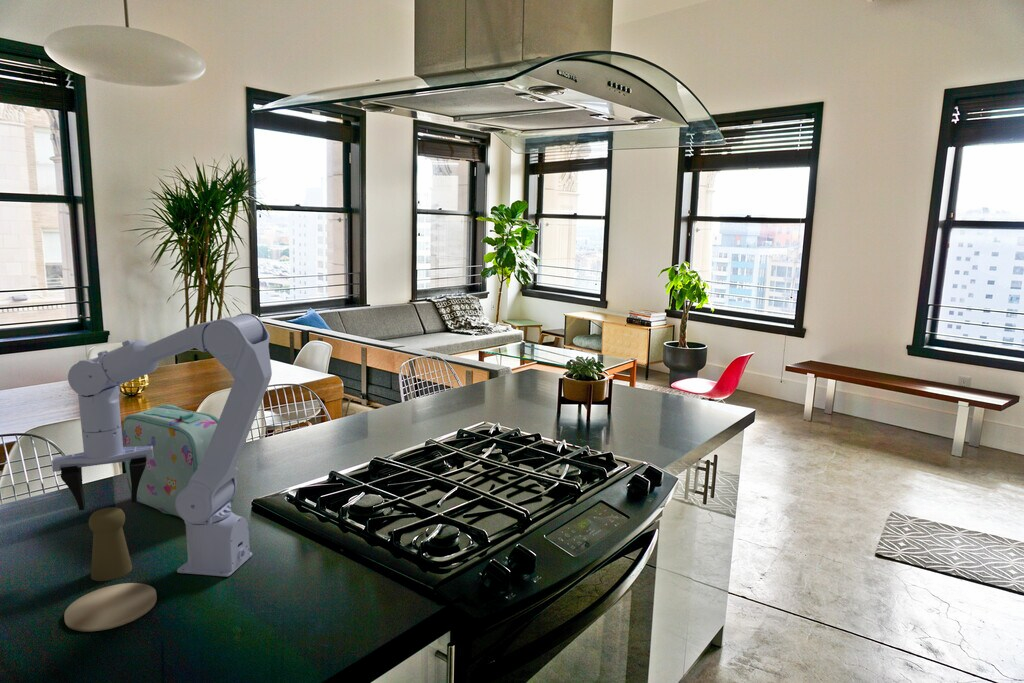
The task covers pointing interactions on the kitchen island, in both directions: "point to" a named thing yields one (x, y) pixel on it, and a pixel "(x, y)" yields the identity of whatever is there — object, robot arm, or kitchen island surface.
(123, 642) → the kitchen island surface
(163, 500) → the lunch box
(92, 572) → the pepper shaker
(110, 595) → the cork trivet
